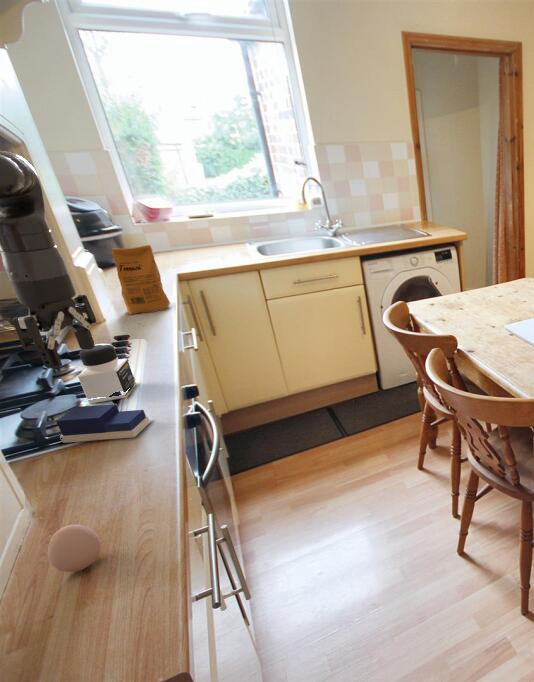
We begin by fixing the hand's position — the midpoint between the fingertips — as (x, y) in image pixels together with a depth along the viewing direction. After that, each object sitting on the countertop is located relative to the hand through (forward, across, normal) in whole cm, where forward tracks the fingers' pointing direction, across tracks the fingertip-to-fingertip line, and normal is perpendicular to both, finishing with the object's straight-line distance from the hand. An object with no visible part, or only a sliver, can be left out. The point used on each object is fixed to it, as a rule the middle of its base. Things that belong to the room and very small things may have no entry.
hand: (72, 357), depth 88 cm
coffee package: (+17, +81, +34) cm, 90 cm away
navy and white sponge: (+17, 0, -1) cm, 17 cm away
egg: (+17, -35, -19) cm, 44 cm away
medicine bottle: (+17, +17, +8) cm, 25 cm away
